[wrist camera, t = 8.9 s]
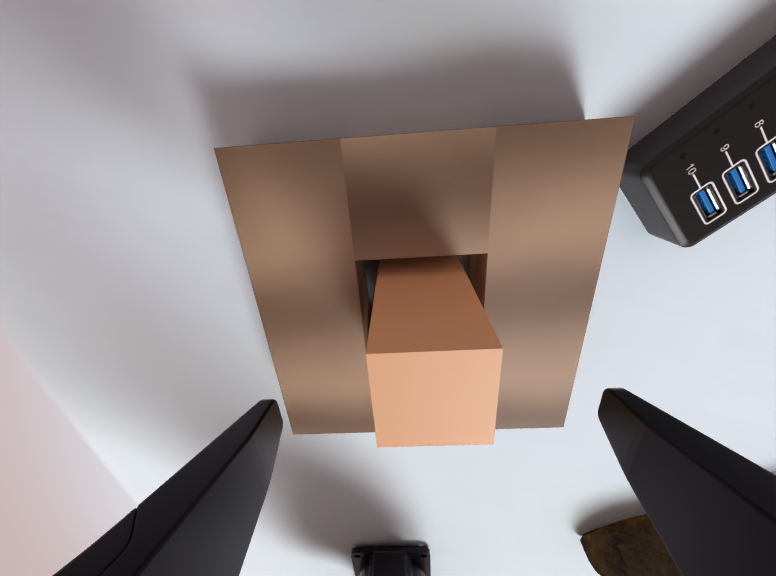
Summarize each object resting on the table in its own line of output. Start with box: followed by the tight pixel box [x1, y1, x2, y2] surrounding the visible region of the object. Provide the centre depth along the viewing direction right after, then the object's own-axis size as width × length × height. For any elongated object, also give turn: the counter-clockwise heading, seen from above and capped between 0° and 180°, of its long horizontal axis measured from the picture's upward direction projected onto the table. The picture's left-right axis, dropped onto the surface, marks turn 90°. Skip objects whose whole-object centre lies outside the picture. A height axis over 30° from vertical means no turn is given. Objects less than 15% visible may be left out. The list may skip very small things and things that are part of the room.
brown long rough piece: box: [580, 514, 683, 576], centre depth 22 cm, size 19×4×5 cm, turn 110°
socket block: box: [214, 116, 635, 434], centre depth 15 cm, size 14×14×3 cm
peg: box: [366, 255, 503, 447], centre depth 13 cm, size 4×4×8 cm
